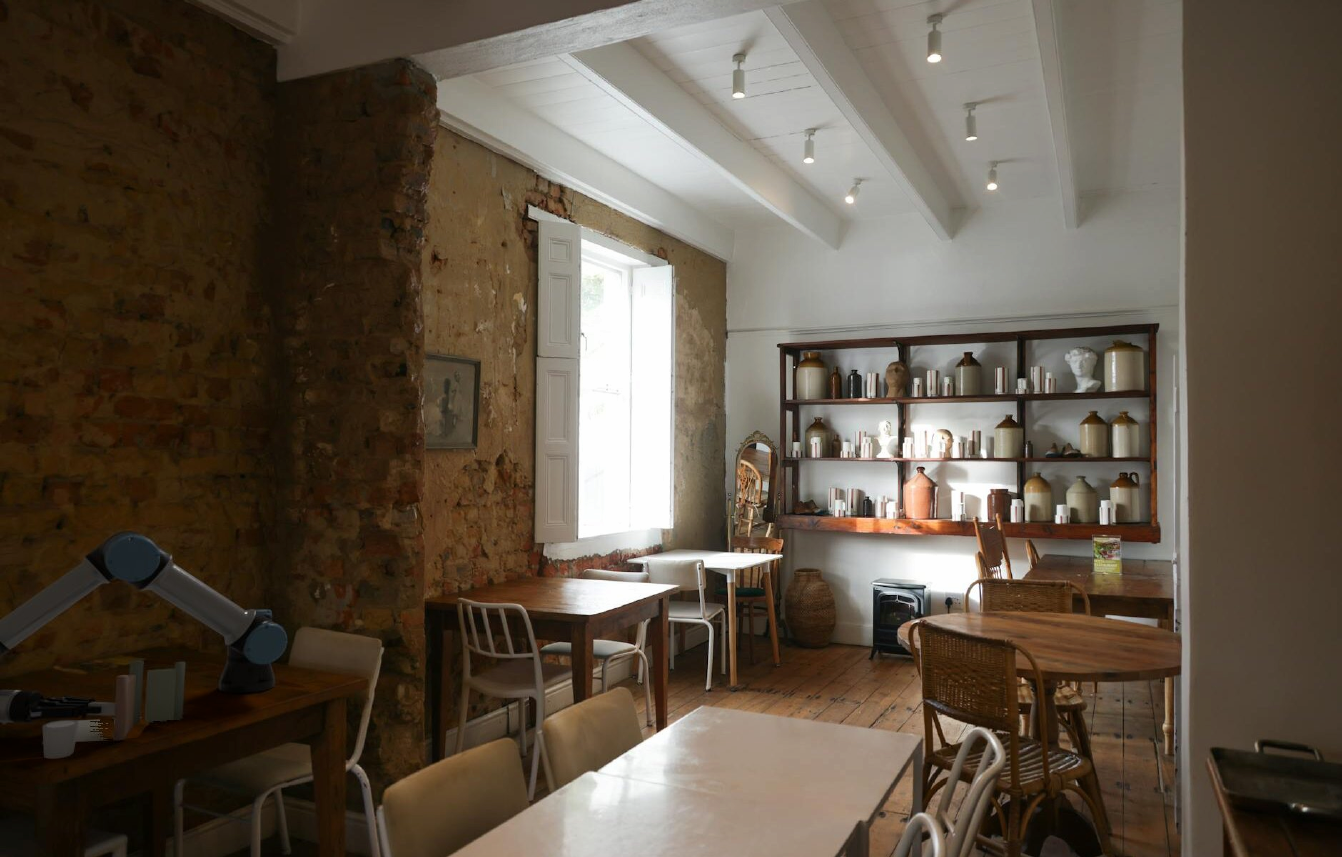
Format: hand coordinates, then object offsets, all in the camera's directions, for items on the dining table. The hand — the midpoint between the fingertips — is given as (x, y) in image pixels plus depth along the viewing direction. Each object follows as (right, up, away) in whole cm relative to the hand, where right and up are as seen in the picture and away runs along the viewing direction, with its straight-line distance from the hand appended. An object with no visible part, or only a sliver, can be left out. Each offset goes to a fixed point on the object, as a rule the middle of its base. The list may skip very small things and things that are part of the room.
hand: (117, 709), depth 215 cm
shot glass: (-6, -7, -13) cm, 15 cm away
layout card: (-7, -7, +5) cm, 11 cm away
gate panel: (0, -6, +3) cm, 7 cm away
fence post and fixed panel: (+2, -8, +13) cm, 15 cm away
